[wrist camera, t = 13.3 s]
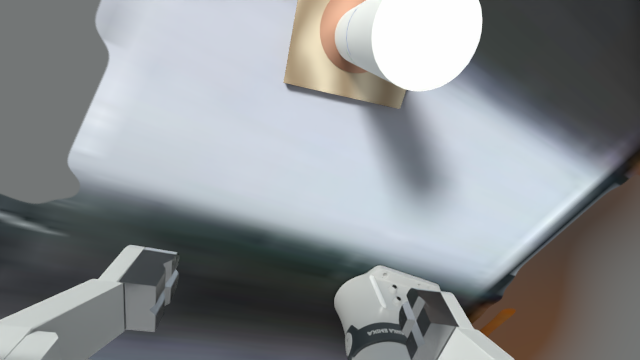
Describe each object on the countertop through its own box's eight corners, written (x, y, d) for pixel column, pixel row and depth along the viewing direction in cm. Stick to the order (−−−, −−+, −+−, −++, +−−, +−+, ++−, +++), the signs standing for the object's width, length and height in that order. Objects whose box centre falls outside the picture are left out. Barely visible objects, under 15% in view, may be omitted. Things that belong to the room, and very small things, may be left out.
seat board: (440, -25, 41) (445, -28, 40) (397, 107, 48) (400, 109, 47) (309, -64, 39) (309, -68, 37) (284, 81, 46) (283, 82, 44)
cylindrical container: (381, 0, 41) (480, -48, 18) (389, 56, 44) (483, 75, 21) (329, 15, 41) (361, -13, 18) (340, 69, 44) (381, 103, 21)
